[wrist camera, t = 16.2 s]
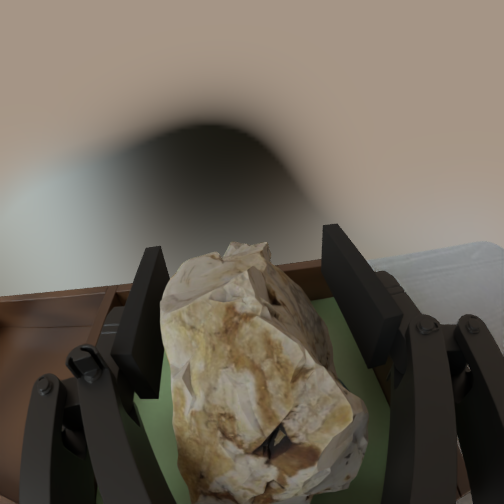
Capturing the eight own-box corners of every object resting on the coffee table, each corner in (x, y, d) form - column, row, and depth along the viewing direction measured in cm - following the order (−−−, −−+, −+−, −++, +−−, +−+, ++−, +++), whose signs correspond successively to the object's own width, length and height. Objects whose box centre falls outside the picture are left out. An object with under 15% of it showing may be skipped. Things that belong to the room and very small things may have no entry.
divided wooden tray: (342, 297, 21) (347, 254, 19) (435, 506, 7) (476, 487, 5) (-1, 327, 20) (-20, 298, 18) (-58, 463, 6) (-90, 436, 4)
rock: (383, 523, 6) (421, 294, 4) (214, 546, 7) (58, 359, 4) (330, 363, 18) (304, 213, 16) (233, 381, 18) (189, 239, 16)
